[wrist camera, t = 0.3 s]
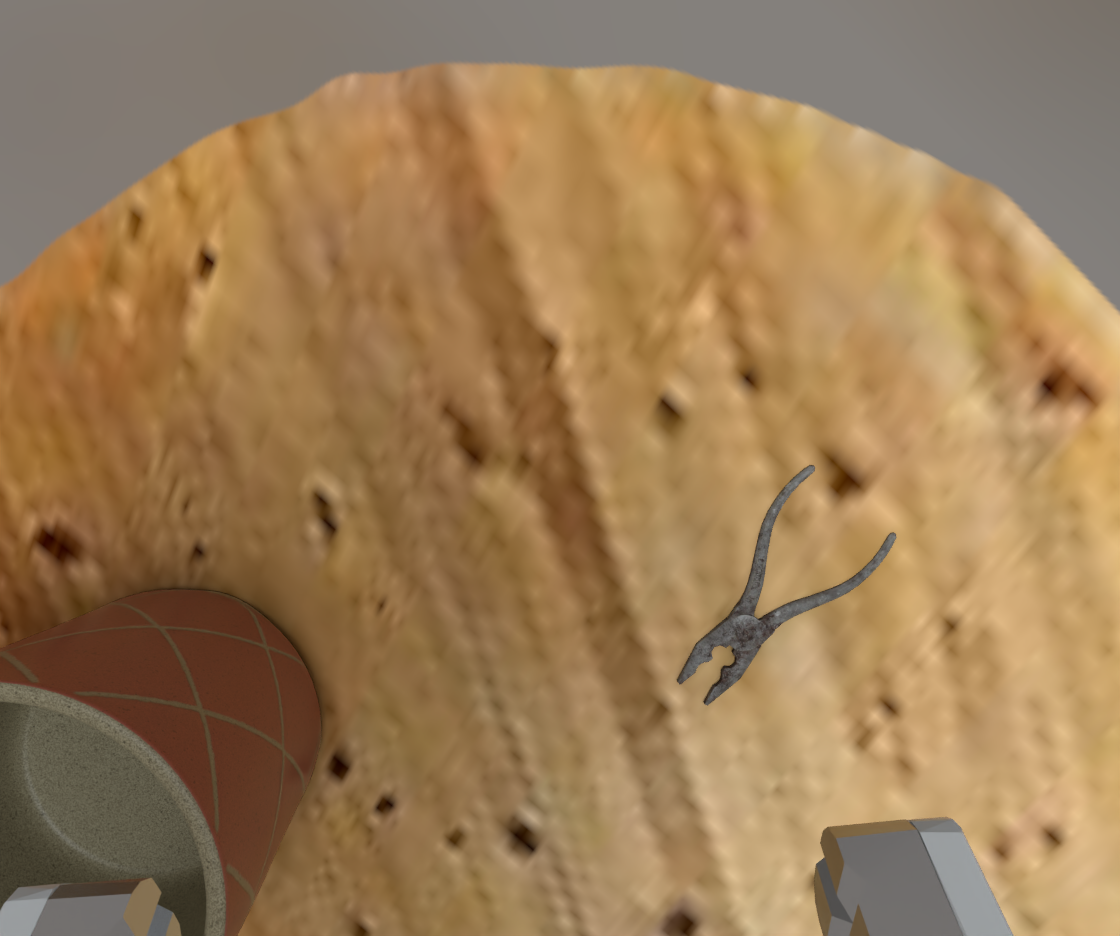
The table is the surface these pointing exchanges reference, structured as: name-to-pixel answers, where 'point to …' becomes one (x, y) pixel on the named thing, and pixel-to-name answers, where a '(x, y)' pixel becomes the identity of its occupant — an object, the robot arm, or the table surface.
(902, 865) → the robot arm
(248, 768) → the planter
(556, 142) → the table surface
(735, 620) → the pliers
